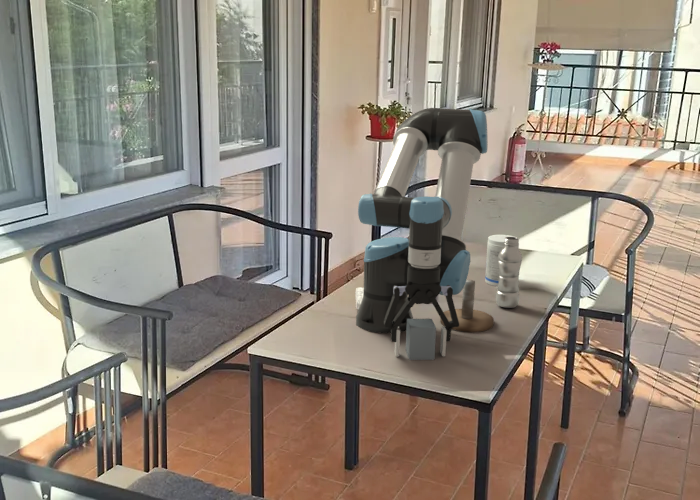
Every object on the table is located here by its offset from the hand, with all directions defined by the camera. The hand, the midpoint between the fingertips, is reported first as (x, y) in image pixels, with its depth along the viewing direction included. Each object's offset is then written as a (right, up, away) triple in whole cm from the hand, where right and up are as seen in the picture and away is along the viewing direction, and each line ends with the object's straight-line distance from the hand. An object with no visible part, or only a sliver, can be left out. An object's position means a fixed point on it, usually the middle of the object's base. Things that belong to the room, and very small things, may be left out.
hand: (419, 354), depth 188 cm
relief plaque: (-10, +9, +38) cm, 40 cm away
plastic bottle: (+28, +8, +36) cm, 46 cm away
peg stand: (+14, +5, +23) cm, 27 cm away
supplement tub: (+30, +14, +58) cm, 67 cm away
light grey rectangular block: (0, 0, 0) cm, 0 cm away
